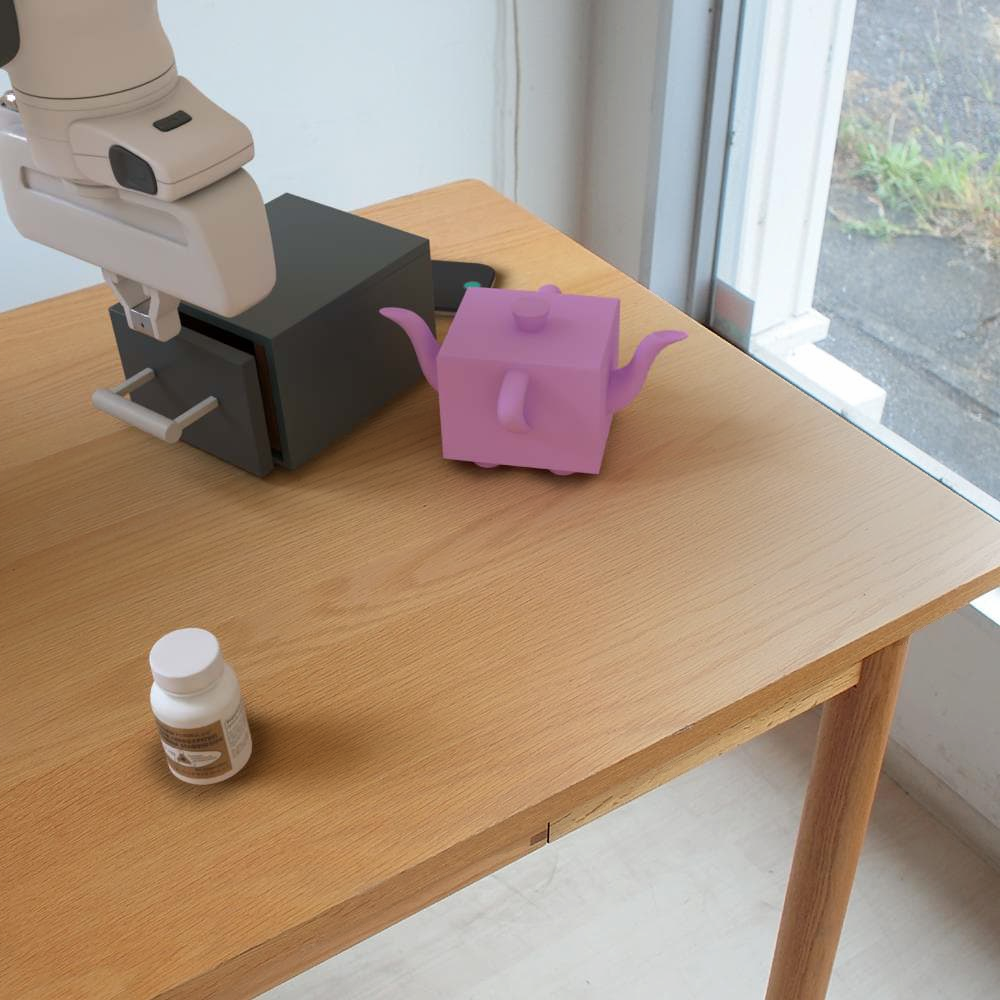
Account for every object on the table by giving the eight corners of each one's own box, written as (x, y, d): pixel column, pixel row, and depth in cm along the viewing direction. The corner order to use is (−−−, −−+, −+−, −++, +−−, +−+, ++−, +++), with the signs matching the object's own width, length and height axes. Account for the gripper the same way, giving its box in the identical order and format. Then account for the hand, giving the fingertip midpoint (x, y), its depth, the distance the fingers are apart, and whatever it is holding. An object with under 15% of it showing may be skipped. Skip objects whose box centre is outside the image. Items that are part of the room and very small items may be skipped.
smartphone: (479, 311, 102) (294, 296, 105) (480, 321, 102) (296, 306, 105) (499, 263, 108) (324, 251, 110) (500, 273, 108) (325, 260, 111)
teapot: (576, 365, 97) (577, 231, 91) (682, 458, 88) (692, 317, 81) (389, 429, 92) (375, 291, 85) (482, 535, 83) (474, 391, 76)
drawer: (209, 515, 84) (184, 400, 78) (81, 450, 89) (49, 339, 84) (403, 376, 95) (393, 267, 90) (279, 326, 101) (262, 222, 96)
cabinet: (293, 475, 88) (271, 339, 81) (155, 410, 95) (124, 279, 88) (439, 368, 98) (429, 239, 91) (304, 316, 104) (286, 191, 98)
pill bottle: (154, 781, 68) (122, 677, 63) (189, 718, 71) (162, 614, 67) (234, 796, 67) (208, 690, 62) (266, 731, 70) (243, 627, 66)
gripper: (-55, 101, 77) (10, 307, 86) (188, 181, 67) (233, 405, 76) (33, 66, 81) (87, 267, 89) (274, 137, 71) (308, 355, 80)
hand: (156, 331), depth 83 cm, fingers closed
